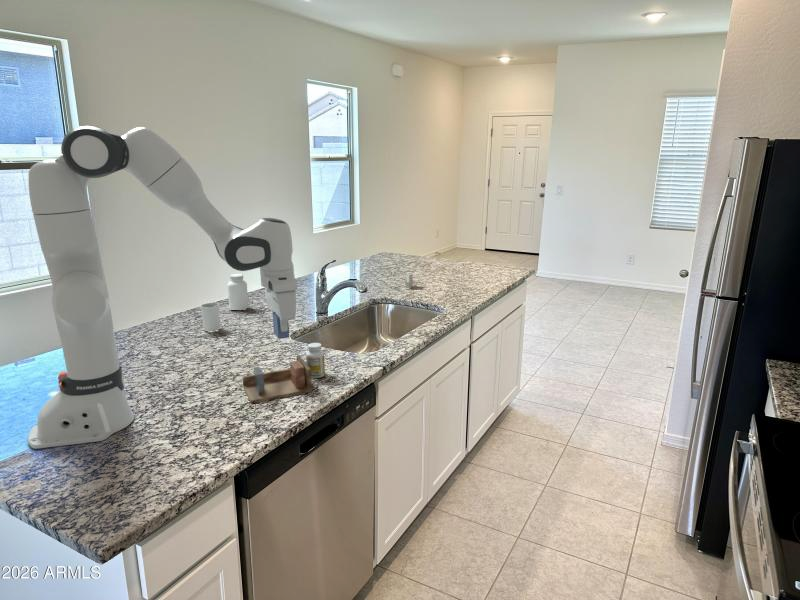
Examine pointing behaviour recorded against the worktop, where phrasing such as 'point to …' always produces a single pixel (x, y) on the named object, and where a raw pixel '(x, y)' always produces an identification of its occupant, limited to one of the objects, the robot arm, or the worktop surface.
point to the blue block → (277, 330)
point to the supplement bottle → (315, 360)
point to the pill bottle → (237, 292)
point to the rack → (281, 382)
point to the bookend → (259, 380)
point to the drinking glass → (210, 316)
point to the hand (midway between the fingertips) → (280, 327)
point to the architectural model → (409, 281)
